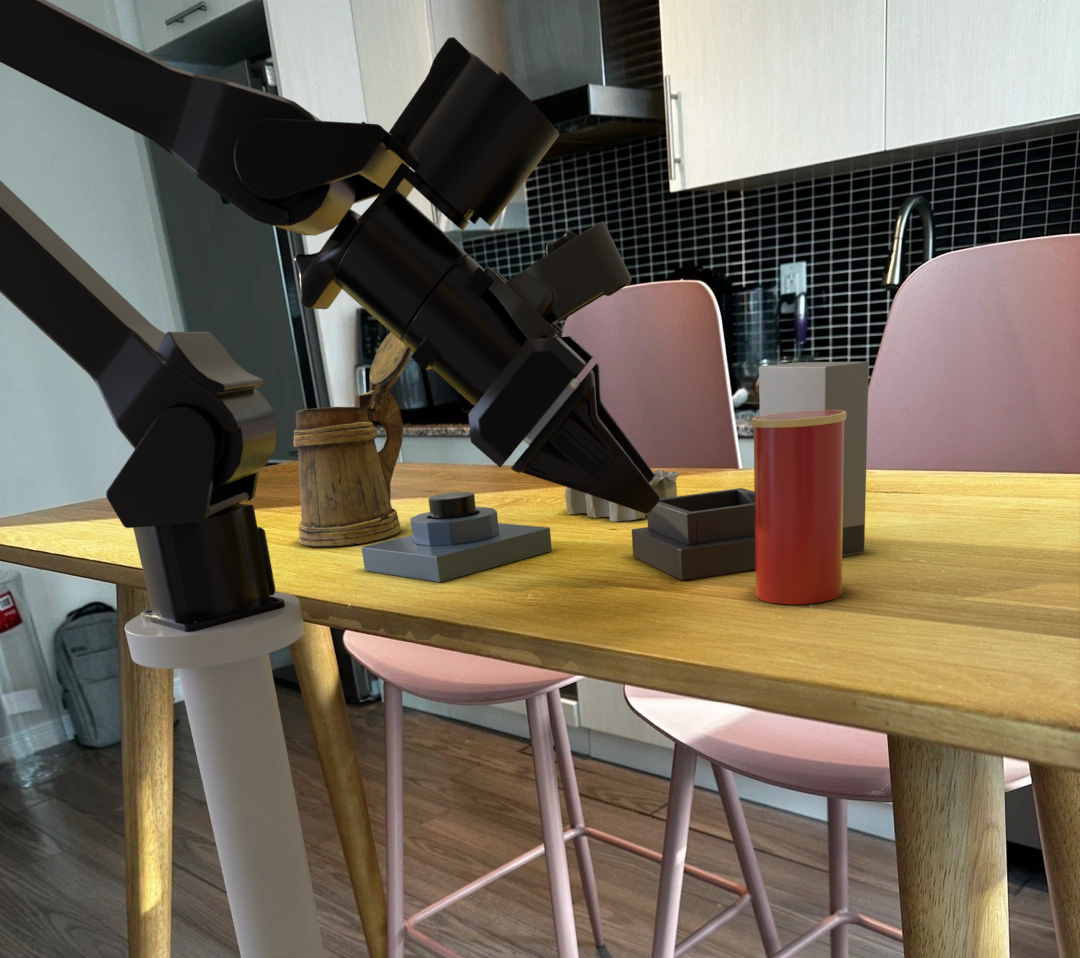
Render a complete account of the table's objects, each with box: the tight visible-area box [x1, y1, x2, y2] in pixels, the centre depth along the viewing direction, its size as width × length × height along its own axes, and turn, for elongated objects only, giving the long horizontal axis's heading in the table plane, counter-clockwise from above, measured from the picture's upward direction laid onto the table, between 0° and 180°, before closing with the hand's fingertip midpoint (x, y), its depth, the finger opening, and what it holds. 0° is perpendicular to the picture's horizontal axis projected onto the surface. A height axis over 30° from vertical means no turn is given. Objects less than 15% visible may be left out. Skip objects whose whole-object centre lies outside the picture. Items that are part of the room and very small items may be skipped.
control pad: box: [361, 506, 553, 583], centre depth 77 cm, size 11×9×4 cm
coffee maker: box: [631, 361, 870, 581], centre depth 68 cm, size 13×9×12 cm
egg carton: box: [564, 468, 683, 522], centre depth 91 cm, size 11×8×4 cm
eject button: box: [428, 491, 477, 520], centre depth 76 cm, size 3×3×2 cm
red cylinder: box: [751, 410, 846, 606], centre depth 58 cm, size 5×5×10 cm
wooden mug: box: [293, 331, 414, 548], centre depth 90 cm, size 9×14×18 cm, turn 124°
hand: (651, 493), depth 58 cm, fingers open, 9 cm apart
